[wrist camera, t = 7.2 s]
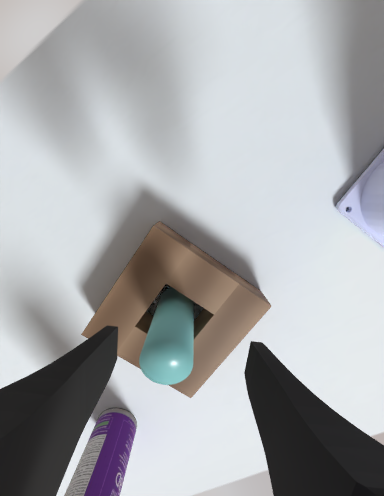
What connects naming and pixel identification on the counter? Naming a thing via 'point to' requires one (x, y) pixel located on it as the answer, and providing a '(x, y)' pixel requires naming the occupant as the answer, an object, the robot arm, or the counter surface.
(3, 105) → the counter surface
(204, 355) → the socket block
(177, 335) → the peg
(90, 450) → the container
